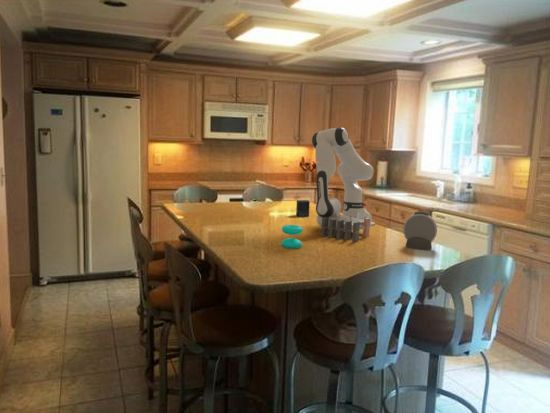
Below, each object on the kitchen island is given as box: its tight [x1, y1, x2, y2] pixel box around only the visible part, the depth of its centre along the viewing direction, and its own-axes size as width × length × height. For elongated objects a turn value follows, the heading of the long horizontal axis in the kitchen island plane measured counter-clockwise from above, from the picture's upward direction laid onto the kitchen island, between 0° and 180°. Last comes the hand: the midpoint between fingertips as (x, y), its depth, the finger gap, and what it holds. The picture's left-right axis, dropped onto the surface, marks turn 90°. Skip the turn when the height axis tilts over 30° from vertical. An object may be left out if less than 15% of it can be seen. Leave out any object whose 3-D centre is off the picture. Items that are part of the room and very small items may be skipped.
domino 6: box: [362, 218, 371, 238], centre depth 263 cm, size 2×5×10 cm, turn 148°
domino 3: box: [335, 219, 344, 240], centre depth 254 cm, size 2×5×10 cm, turn 148°
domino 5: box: [351, 221, 361, 243], centre depth 249 cm, size 2×5×10 cm, turn 148°
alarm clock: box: [402, 210, 438, 251], centre depth 239 cm, size 16×10×18 cm, turn 70°
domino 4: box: [343, 220, 352, 242], centre depth 251 cm, size 2×5×10 cm, turn 148°
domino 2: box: [328, 218, 337, 239], centre depth 256 cm, size 2×5×10 cm, turn 148°
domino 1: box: [320, 217, 329, 238], centre depth 258 cm, size 2×5×10 cm, turn 148°
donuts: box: [280, 224, 303, 250], centre depth 229 cm, size 10×10×10 cm
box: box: [295, 199, 310, 217], centre depth 325 cm, size 8×6×11 cm
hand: (367, 226), depth 262 cm, fingers open, 8 cm apart
